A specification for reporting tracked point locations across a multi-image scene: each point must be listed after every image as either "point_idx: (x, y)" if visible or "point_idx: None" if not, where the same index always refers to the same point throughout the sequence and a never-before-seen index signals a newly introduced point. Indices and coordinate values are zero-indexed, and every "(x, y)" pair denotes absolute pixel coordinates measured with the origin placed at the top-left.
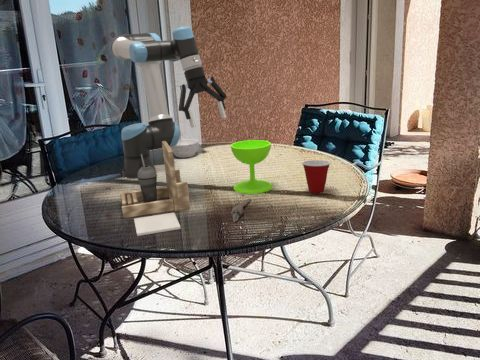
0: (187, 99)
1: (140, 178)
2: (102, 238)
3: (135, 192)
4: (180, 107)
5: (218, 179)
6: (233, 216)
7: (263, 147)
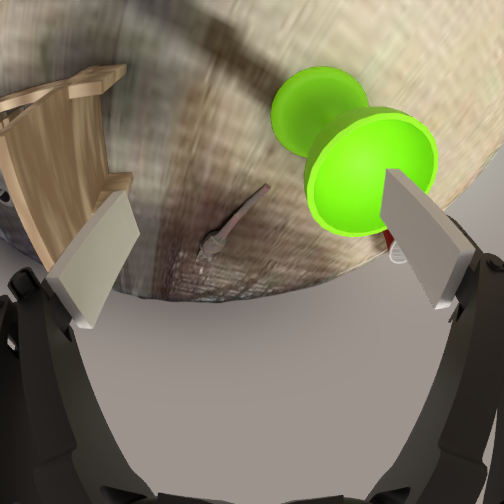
0: (35, 400)
1: (8, 193)
2: (20, 241)
3: (9, 108)
4: (15, 348)
5: None
6: (200, 252)
7: (371, 233)
